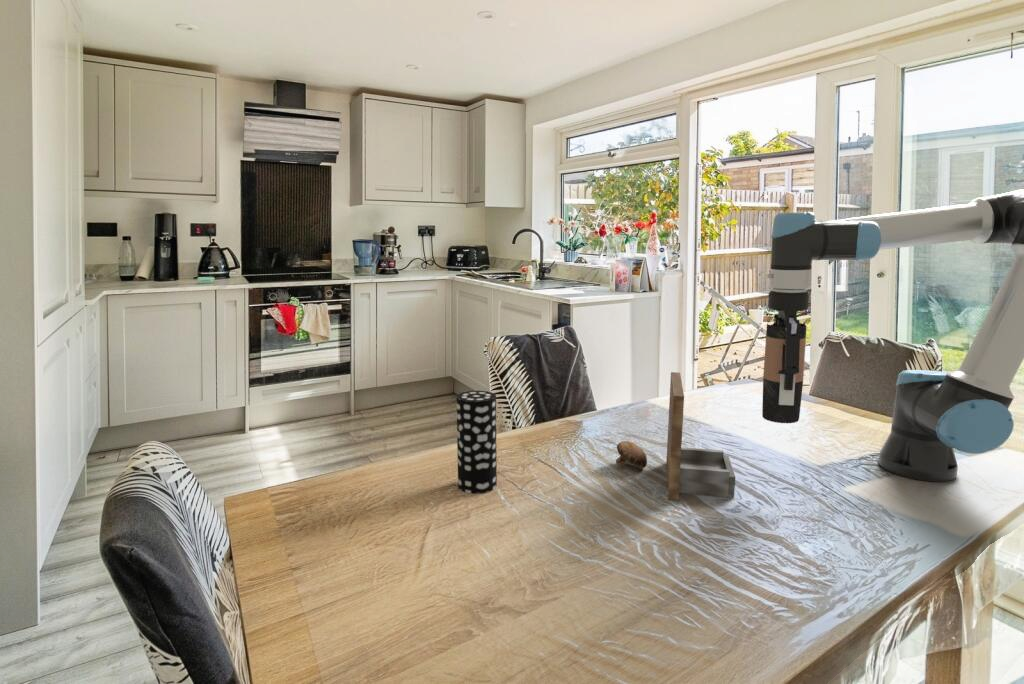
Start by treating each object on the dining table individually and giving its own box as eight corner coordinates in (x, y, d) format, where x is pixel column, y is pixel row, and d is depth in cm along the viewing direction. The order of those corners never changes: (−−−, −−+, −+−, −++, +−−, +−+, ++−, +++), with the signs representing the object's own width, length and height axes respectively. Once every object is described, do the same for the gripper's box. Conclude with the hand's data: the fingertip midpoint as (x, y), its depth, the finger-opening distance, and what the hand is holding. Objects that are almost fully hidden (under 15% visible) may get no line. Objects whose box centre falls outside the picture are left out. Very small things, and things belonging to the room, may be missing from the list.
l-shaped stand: (725, 467, 142) (731, 375, 138) (736, 505, 123) (744, 399, 119) (666, 462, 145) (671, 372, 141) (668, 499, 126) (673, 395, 122)
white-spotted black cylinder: (503, 481, 135) (502, 393, 131) (485, 496, 127) (484, 403, 123) (469, 475, 138) (468, 389, 134) (450, 489, 131) (448, 398, 127)
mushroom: (604, 456, 140) (621, 434, 140) (611, 457, 148) (627, 436, 148) (632, 479, 137) (649, 456, 137) (638, 479, 145) (654, 458, 144)
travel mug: (804, 424, 125) (811, 327, 121) (764, 423, 127) (770, 327, 123) (795, 413, 132) (801, 321, 129) (757, 411, 134) (763, 321, 130)
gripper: (760, 285, 135) (755, 385, 139) (779, 295, 115) (771, 412, 120) (797, 285, 133) (790, 386, 138) (822, 296, 114) (813, 414, 118)
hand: (781, 398), depth 129 cm, fingers closed on travel mug, 8 cm apart
